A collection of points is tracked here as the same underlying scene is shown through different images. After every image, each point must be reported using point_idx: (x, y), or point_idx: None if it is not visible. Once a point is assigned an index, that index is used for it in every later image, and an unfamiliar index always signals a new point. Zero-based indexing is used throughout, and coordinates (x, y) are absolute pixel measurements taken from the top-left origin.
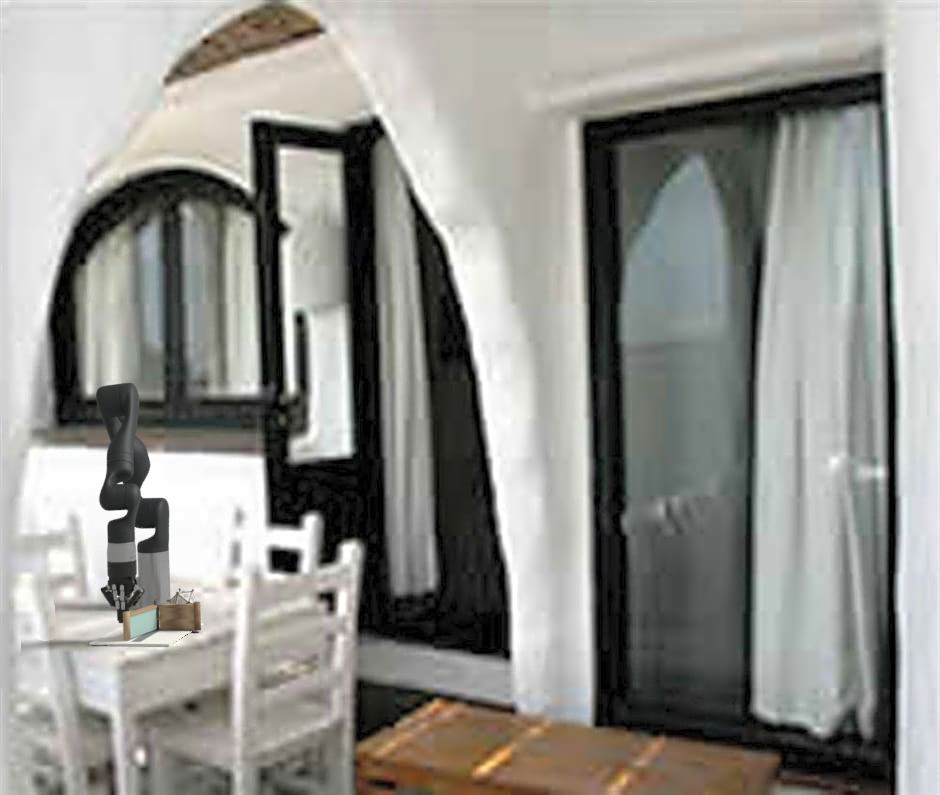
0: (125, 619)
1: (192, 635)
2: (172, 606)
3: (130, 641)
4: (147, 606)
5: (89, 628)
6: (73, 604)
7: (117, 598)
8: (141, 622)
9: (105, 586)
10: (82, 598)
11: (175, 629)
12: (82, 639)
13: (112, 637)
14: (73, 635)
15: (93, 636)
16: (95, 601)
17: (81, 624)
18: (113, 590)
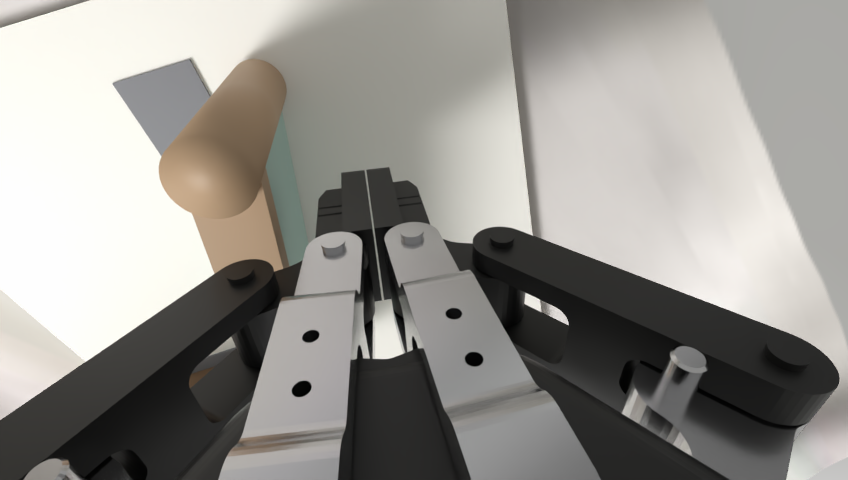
0: (201, 110)
1: (54, 355)
2: None
3: (204, 63)
4: None
5: (690, 257)
6: (840, 425)
7: (409, 298)
8: None
9: (780, 444)
10: (826, 461)
11: (208, 370)
12: (633, 55)
13: (433, 119)
14: (724, 120)
15: (599, 142)
16: None
17: (750, 289)
18: (526, 393)
